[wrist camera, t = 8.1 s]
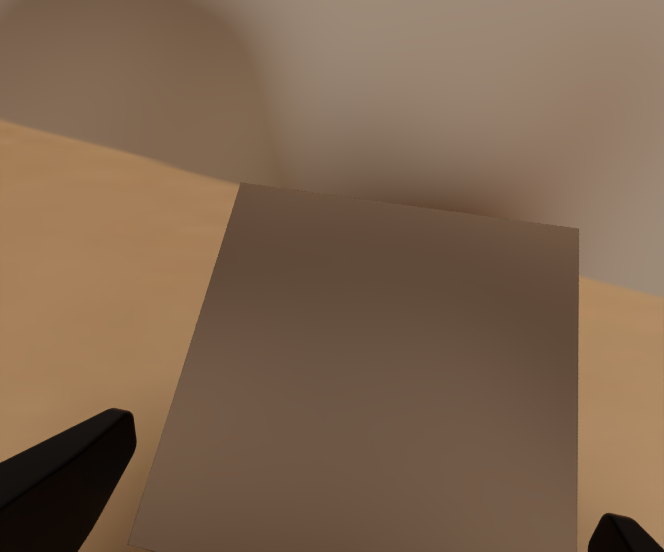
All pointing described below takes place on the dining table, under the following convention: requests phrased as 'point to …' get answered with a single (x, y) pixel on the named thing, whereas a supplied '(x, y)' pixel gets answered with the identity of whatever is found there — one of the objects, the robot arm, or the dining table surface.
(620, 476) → the dining table surface
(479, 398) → the walnut block
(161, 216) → the dining table surface
